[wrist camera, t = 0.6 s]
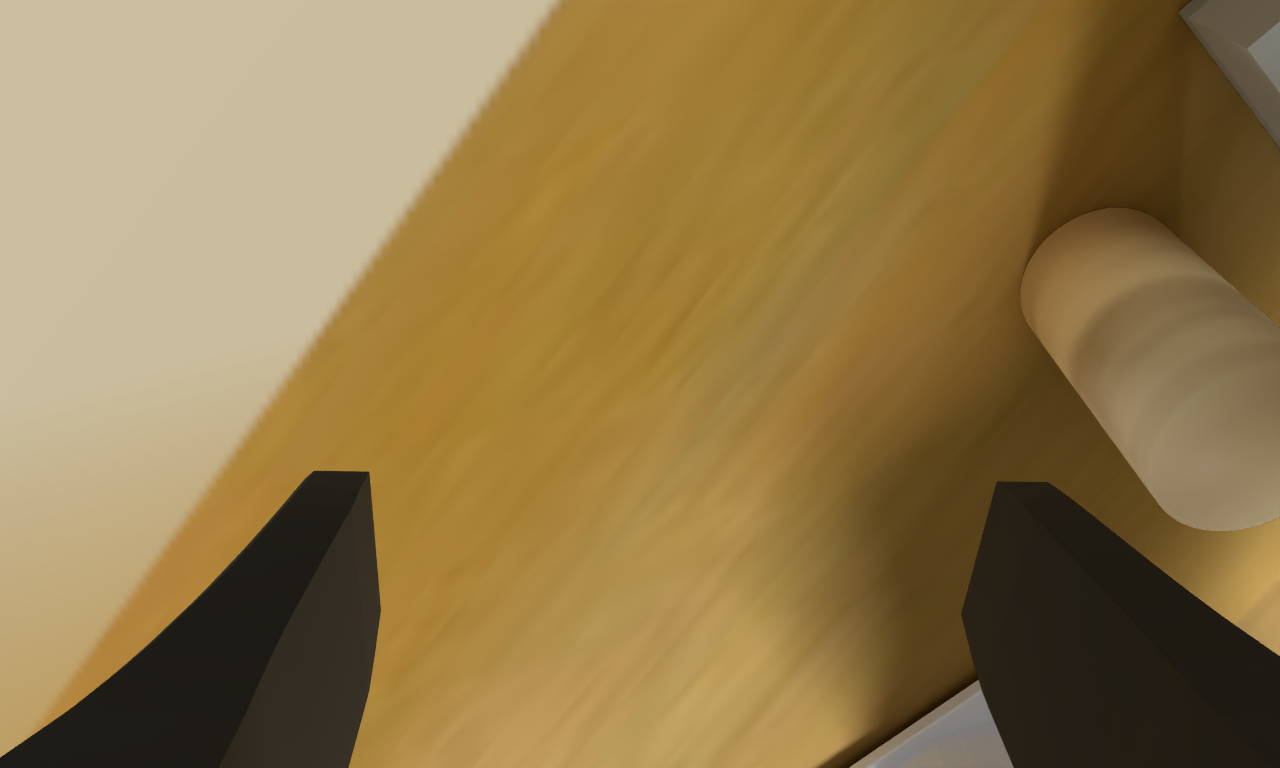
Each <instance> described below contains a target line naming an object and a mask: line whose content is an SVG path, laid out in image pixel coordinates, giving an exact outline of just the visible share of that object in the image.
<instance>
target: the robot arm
mask: <svg viewBox="0 0 1280 768" xmlns="http://www.w3.org/2000/svg"><path fill="white" fill-rule="evenodd" d="M380 613H381V606H380V595H379V583H378V571H377V559H376V547H375V535H374V523H373V511H372V499H371V487H370V475H369V472H355V471H313V472H312V473H311V474H310V475H309V476H308V477H307V478H305V479H304V481H303V482H302V483H301V484H300V485H299V486H298V488H297V489H296V490H295V491H294V492H293V494H292V495H291V496H290V497H289V498H288V499H287V501H286V502H285V503H284V504H283V505H282V507H281V508H280V509H279V510H278V511H277V512H276V514H275V515H274V516H273V517H272V518H271V519H270V520H269V522H268V523H267V524H266V525H265V526H264V527H263V528H262V530H261V531H260V532H259V533H258V534H257V535H256V536H255V537H254V539H253V540H252V541H251V542H250V543H249V544H248V545H247V546H246V548H245V549H244V550H243V551H242V552H241V553H240V554H239V555H238V556H237V557H236V558H235V559H234V560H233V561H232V562H231V563H230V564H229V566H228V567H227V568H226V569H225V570H224V571H223V572H222V573H221V574H220V575H219V576H218V577H217V578H216V579H215V580H214V581H213V583H212V584H211V585H210V586H209V587H208V588H207V589H206V590H205V591H204V592H203V593H202V594H201V595H200V596H199V597H198V598H197V599H196V600H195V601H194V602H193V603H192V604H191V605H189V606H188V607H187V608H186V609H185V610H184V611H183V612H182V613H181V614H180V615H179V616H178V617H177V618H176V619H175V620H174V621H173V622H172V623H171V624H169V625H168V626H167V627H166V628H165V629H164V630H163V631H162V632H161V633H160V634H159V635H158V636H157V637H156V638H155V639H154V640H153V641H152V642H150V643H149V644H148V645H147V646H146V647H145V648H144V649H143V650H142V651H140V652H139V653H138V654H137V655H136V656H135V657H133V658H132V659H131V660H130V661H129V662H128V663H127V664H125V665H124V666H123V667H122V668H121V669H120V670H118V671H117V672H116V673H115V674H114V675H112V676H111V677H110V678H109V679H108V680H106V681H105V682H104V683H103V684H101V685H100V686H99V687H98V688H96V689H95V690H94V691H93V692H91V693H90V694H89V695H88V696H86V697H85V698H84V699H83V700H81V701H80V702H79V703H78V704H76V705H75V706H74V707H72V708H71V709H70V710H68V711H67V712H66V713H64V714H63V715H61V716H60V717H58V718H57V719H55V720H54V721H53V722H51V723H50V724H48V725H47V726H45V727H44V728H42V729H41V730H40V731H38V732H37V733H35V734H34V735H32V736H31V737H29V738H28V739H27V740H25V741H24V742H22V743H21V744H19V745H18V746H16V747H15V748H14V749H12V750H11V751H9V752H8V753H6V754H5V755H3V756H2V757H1V758H0V768H348V767H349V763H350V760H351V756H352V753H353V749H354V745H355V741H356V738H357V734H358V730H359V727H360V723H361V719H362V716H363V712H364V708H365V704H366V701H367V697H368V693H369V688H370V682H371V675H372V669H373V662H374V656H375V649H376V641H377V634H378V627H379V620H380ZM961 615H962V619H963V623H964V627H965V631H966V635H967V639H968V643H969V647H970V651H971V655H972V659H973V662H974V666H975V669H976V673H977V676H978V680H977V681H976V682H974V683H973V684H971V685H970V686H968V687H967V688H965V689H964V690H963V691H961V692H960V693H958V694H957V695H955V696H954V697H952V698H951V699H949V700H948V701H946V702H945V703H943V704H942V705H940V706H939V707H938V708H936V709H935V710H933V711H932V712H930V713H929V714H927V715H926V716H924V717H923V718H921V719H920V720H918V721H917V722H915V723H914V724H913V725H911V726H910V727H908V728H907V729H905V730H904V731H902V732H901V733H899V734H898V735H896V736H895V737H893V738H892V739H890V740H889V741H888V742H886V743H885V744H883V745H882V746H880V747H879V748H877V749H876V750H874V751H873V752H871V753H870V754H868V755H867V756H865V757H864V758H862V759H861V760H860V761H858V762H857V763H855V764H854V765H852V766H851V767H849V768H1280V656H1279V655H1277V654H1276V653H1274V652H1273V651H1271V650H1270V649H1268V648H1267V647H1265V646H1264V645H1263V644H1261V643H1260V642H1258V641H1257V640H1255V639H1254V638H1253V637H1251V636H1250V635H1248V634H1247V633H1245V632H1244V631H1243V630H1241V629H1240V628H1238V627H1237V626H1235V625H1234V624H1233V623H1231V622H1230V621H1228V620H1227V619H1225V618H1224V617H1223V616H1221V615H1220V614H1219V613H1217V612H1216V611H1215V610H1213V609H1212V608H1210V607H1209V606H1208V605H1206V604H1205V603H1204V602H1202V601H1201V600H1200V599H1198V598H1197V597H1196V596H1194V595H1193V594H1192V593H1190V592H1189V591H1188V590H1186V589H1185V588H1184V587H1182V586H1181V585H1180V584H1179V583H1177V582H1176V581H1175V580H1173V579H1172V578H1171V577H1170V576H1168V575H1167V574H1166V573H1164V572H1163V571H1162V570H1160V569H1159V568H1158V567H1157V566H1155V565H1154V564H1153V563H1152V562H1150V561H1149V560H1148V559H1147V558H1145V557H1144V556H1143V555H1141V554H1140V553H1139V552H1138V551H1136V550H1135V549H1134V548H1133V547H1131V546H1130V545H1129V544H1128V543H1126V542H1125V541H1124V540H1123V539H1121V538H1120V537H1119V536H1118V535H1116V534H1115V533H1114V532H1113V531H1111V530H1110V529H1109V528H1108V527H1106V526H1105V525H1104V524H1103V523H1101V522H1100V521H1099V520H1098V519H1096V518H1095V517H1094V516H1092V515H1091V514H1090V513H1089V512H1087V511H1086V510H1085V509H1084V508H1082V507H1081V506H1080V505H1078V504H1077V503H1076V502H1075V501H1073V500H1072V499H1071V498H1069V497H1068V496H1067V495H1065V494H1064V493H1062V492H1061V491H1060V490H1058V489H1057V488H1055V487H1054V486H1053V485H1051V484H1050V483H1048V482H997V483H996V487H995V491H994V494H993V498H992V502H991V506H990V509H989V513H988V517H987V520H986V524H985V528H984V532H983V535H982V539H981V543H980V547H979V550H978V554H977V558H976V561H975V565H974V569H973V573H972V576H971V580H970V584H969V588H968V591H967V595H966V599H965V602H964V606H963V610H962V614H961Z"/></svg>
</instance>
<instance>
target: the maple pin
mask: <svg viewBox="0 0 1280 768" xmlns="http://www.w3.org/2000/svg"><path fill="white" fill-rule="evenodd" d="M1020 304H1021V309H1022V313H1023V315H1024V318H1025V320H1026V322H1027V323H1028V325H1029V327H1030V328H1031V330H1032V331H1033V332H1034V334H1035V335H1036V336H1037V338H1038V339H1039V341H1040V342H1041V343H1042V345H1043V346H1044V347H1045V349H1046V350H1047V352H1048V353H1049V354H1050V356H1051V357H1052V358H1053V360H1054V361H1055V363H1056V364H1057V365H1058V367H1059V368H1060V369H1061V371H1062V372H1063V374H1064V375H1065V376H1066V378H1067V379H1068V380H1069V382H1070V383H1071V385H1072V386H1073V387H1074V389H1075V390H1076V391H1077V393H1078V394H1079V396H1080V397H1081V398H1082V400H1083V401H1084V402H1085V404H1086V405H1087V407H1088V408H1089V409H1090V411H1091V412H1092V413H1093V415H1094V416H1095V418H1096V419H1097V420H1098V422H1099V423H1100V424H1101V426H1102V427H1103V429H1104V430H1105V431H1106V433H1107V434H1108V435H1109V437H1110V438H1111V440H1112V441H1113V442H1114V444H1115V445H1116V446H1117V448H1118V449H1119V451H1120V452H1121V453H1122V455H1123V456H1124V457H1125V459H1126V460H1127V462H1128V463H1129V464H1130V466H1131V467H1132V468H1133V470H1134V471H1135V473H1136V474H1137V475H1138V477H1139V478H1140V479H1141V481H1142V482H1143V484H1144V485H1145V486H1146V488H1147V489H1148V490H1149V492H1150V493H1151V495H1152V496H1153V497H1154V499H1155V500H1156V501H1157V503H1158V504H1159V505H1160V507H1161V508H1162V509H1163V510H1164V511H1165V512H1166V513H1167V514H1168V515H1169V516H1171V517H1172V518H1173V519H1175V520H1177V521H1178V522H1180V523H1182V524H1185V525H1187V526H1190V527H1193V528H1197V529H1201V530H1209V531H1232V530H1240V529H1246V528H1251V527H1254V526H1258V525H1261V524H1265V523H1267V522H1270V521H1272V520H1275V519H1277V518H1279V517H1280V328H1279V327H1278V326H1277V325H1276V324H1275V323H1274V322H1272V321H1271V320H1270V319H1269V318H1268V317H1267V316H1266V315H1265V314H1263V313H1262V312H1261V311H1260V310H1259V309H1258V308H1257V307H1256V306H1255V305H1253V304H1252V303H1251V302H1250V301H1249V300H1248V299H1247V298H1246V297H1244V296H1243V295H1242V294H1241V293H1240V292H1239V291H1238V290H1237V289H1235V288H1234V287H1233V286H1232V285H1231V284H1230V283H1229V282H1228V281H1226V280H1225V279H1224V278H1223V277H1222V276H1221V275H1220V274H1219V273H1218V272H1216V271H1215V270H1214V269H1213V268H1212V267H1211V266H1210V265H1209V264H1207V263H1206V262H1205V261H1204V260H1203V259H1202V258H1201V257H1200V256H1198V255H1197V254H1196V253H1195V252H1194V251H1193V250H1192V249H1191V248H1190V247H1188V246H1187V245H1186V244H1185V243H1184V242H1183V241H1182V240H1181V239H1179V238H1178V237H1177V236H1176V235H1175V234H1174V233H1173V232H1172V231H1170V230H1169V229H1168V228H1167V227H1166V226H1165V225H1164V224H1163V223H1162V222H1160V221H1159V220H1158V219H1156V218H1155V217H1153V216H1151V215H1149V214H1147V213H1145V212H1142V211H1139V210H1136V209H1130V208H1105V209H1100V210H1095V211H1092V212H1089V213H1086V214H1083V215H1081V216H1078V217H1076V218H1074V219H1072V220H1070V221H1069V222H1067V223H1065V224H1064V225H1062V226H1061V227H1059V228H1058V229H1057V230H1055V231H1054V232H1053V233H1052V234H1051V235H1050V236H1049V237H1047V238H1046V239H1045V240H1044V242H1043V243H1042V244H1041V245H1040V246H1039V247H1038V249H1037V250H1036V251H1035V253H1034V254H1033V256H1032V257H1031V259H1030V261H1029V263H1028V265H1027V267H1026V269H1025V272H1024V274H1023V278H1022V282H1021V288H1020Z"/></svg>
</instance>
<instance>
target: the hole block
mask: <svg viewBox="0 0 1280 768" xmlns="http://www.w3.org/2000/svg"><path fill="white" fill-rule="evenodd" d="M1178 13H1179V15H1180V16H1181V17H1182V19H1183V20H1184V21H1185V23H1186V24H1187V25H1188V27H1189V28H1190V29H1191V31H1192V32H1193V33H1194V35H1195V36H1196V37H1197V39H1198V40H1199V41H1200V43H1201V44H1202V45H1203V47H1204V48H1205V49H1206V51H1207V52H1208V53H1209V55H1210V56H1211V57H1212V59H1213V60H1214V61H1215V63H1216V64H1217V65H1218V67H1219V68H1220V69H1221V71H1222V72H1223V73H1224V75H1225V76H1226V77H1227V79H1228V80H1229V81H1230V83H1231V84H1232V85H1233V87H1234V88H1235V89H1236V91H1237V92H1238V93H1239V95H1240V96H1241V97H1242V99H1243V100H1244V101H1245V103H1246V104H1247V105H1248V106H1249V108H1250V109H1251V110H1252V112H1253V113H1254V114H1255V116H1256V117H1257V118H1258V120H1259V121H1260V122H1261V124H1262V125H1263V126H1264V128H1265V129H1266V130H1267V132H1268V133H1269V134H1270V136H1271V137H1272V138H1273V140H1274V141H1275V142H1276V144H1277V145H1278V146H1279V148H1280V0H1192V1H1191V2H1189V3H1188V4H1187V5H1186V6H1185V7H1184V8H1183V9H1181V10H1180V11H1179V12H1178Z"/></svg>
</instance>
